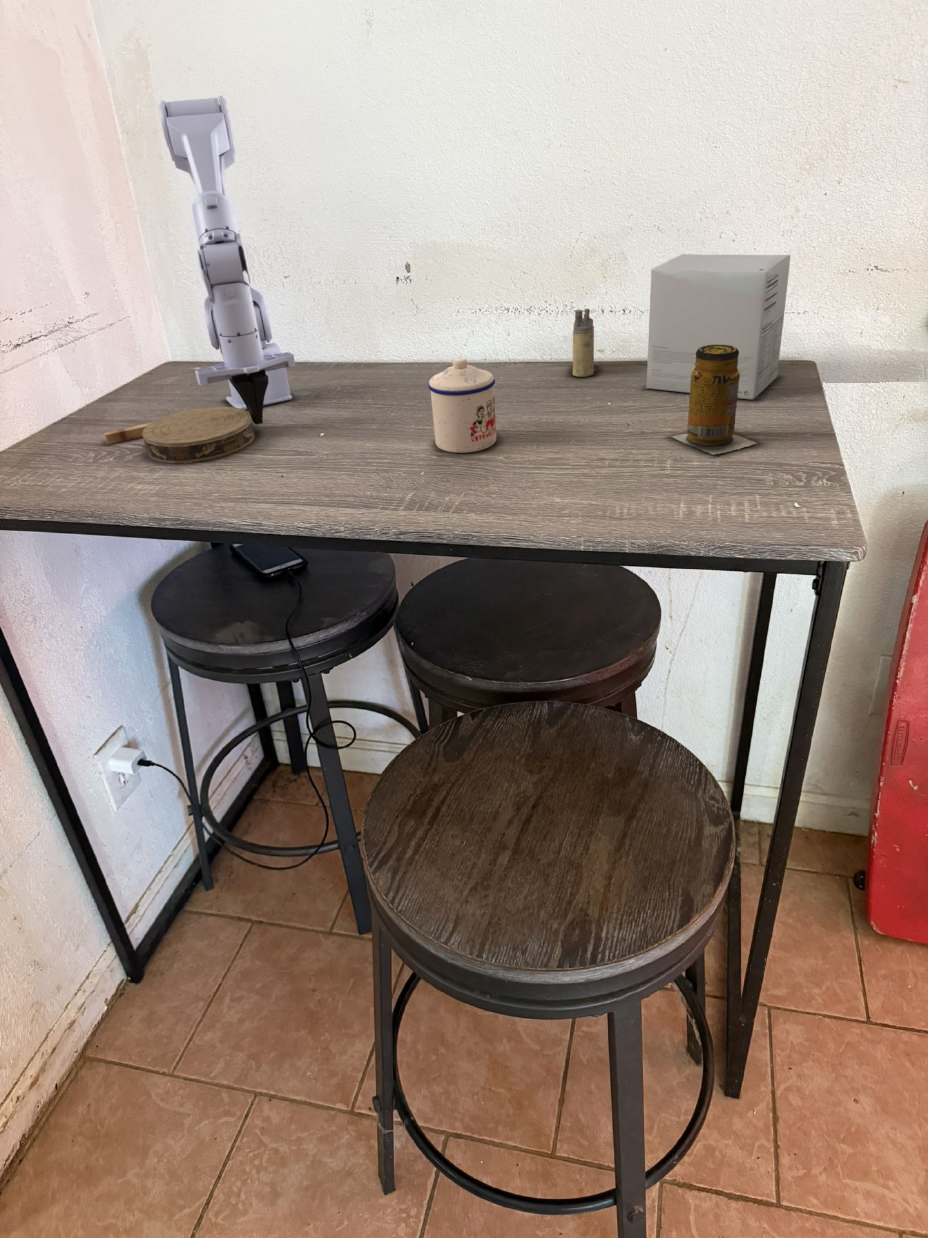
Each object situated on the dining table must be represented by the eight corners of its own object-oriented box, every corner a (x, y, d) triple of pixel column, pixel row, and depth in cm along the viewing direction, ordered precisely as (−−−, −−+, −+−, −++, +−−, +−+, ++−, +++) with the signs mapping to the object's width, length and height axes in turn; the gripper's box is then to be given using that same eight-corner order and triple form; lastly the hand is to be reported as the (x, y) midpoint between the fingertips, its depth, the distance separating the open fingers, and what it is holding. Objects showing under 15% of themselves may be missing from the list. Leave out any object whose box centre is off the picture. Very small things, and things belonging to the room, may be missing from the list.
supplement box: (779, 376, 133) (794, 253, 124) (754, 401, 124) (769, 271, 115) (674, 366, 142) (681, 251, 132) (643, 389, 133) (648, 267, 123)
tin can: (175, 472, 118) (169, 451, 116) (130, 446, 128) (125, 427, 127) (274, 439, 126) (270, 419, 124) (224, 417, 136) (220, 399, 135)
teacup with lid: (482, 457, 114) (476, 370, 107) (422, 451, 117) (414, 367, 111) (515, 427, 123) (512, 346, 116) (459, 422, 126) (453, 343, 120)
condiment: (713, 426, 117) (721, 338, 110) (757, 444, 110) (767, 351, 104) (671, 438, 114) (676, 348, 108) (712, 457, 108) (720, 362, 101)
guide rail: (220, 416, 137) (218, 407, 137) (222, 418, 136) (220, 409, 136) (106, 442, 131) (103, 432, 130) (108, 444, 130) (105, 435, 129)
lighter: (574, 365, 147) (573, 305, 141) (596, 364, 146) (596, 304, 141) (572, 377, 141) (571, 316, 136) (595, 377, 140) (595, 315, 135)
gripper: (195, 346, 117) (217, 440, 124) (294, 327, 122) (310, 418, 129) (184, 337, 122) (206, 427, 129) (279, 319, 127) (295, 407, 135)
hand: (257, 422), depth 130 cm, fingers closed
